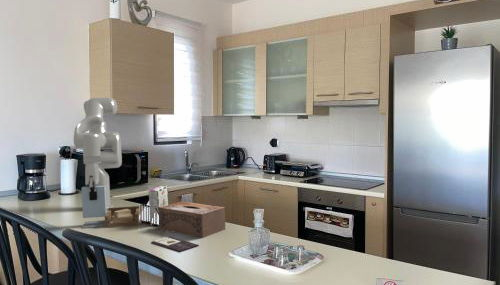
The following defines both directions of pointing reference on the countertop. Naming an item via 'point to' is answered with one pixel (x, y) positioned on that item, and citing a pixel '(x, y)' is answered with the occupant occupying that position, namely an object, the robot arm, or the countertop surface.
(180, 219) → the tissue box cover
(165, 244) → the chocolate bar
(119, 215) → the offcut upper
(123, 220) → the offcut lower
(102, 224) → the mat
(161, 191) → the candy bar box
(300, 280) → the countertop surface
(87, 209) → the panel
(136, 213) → the rack
